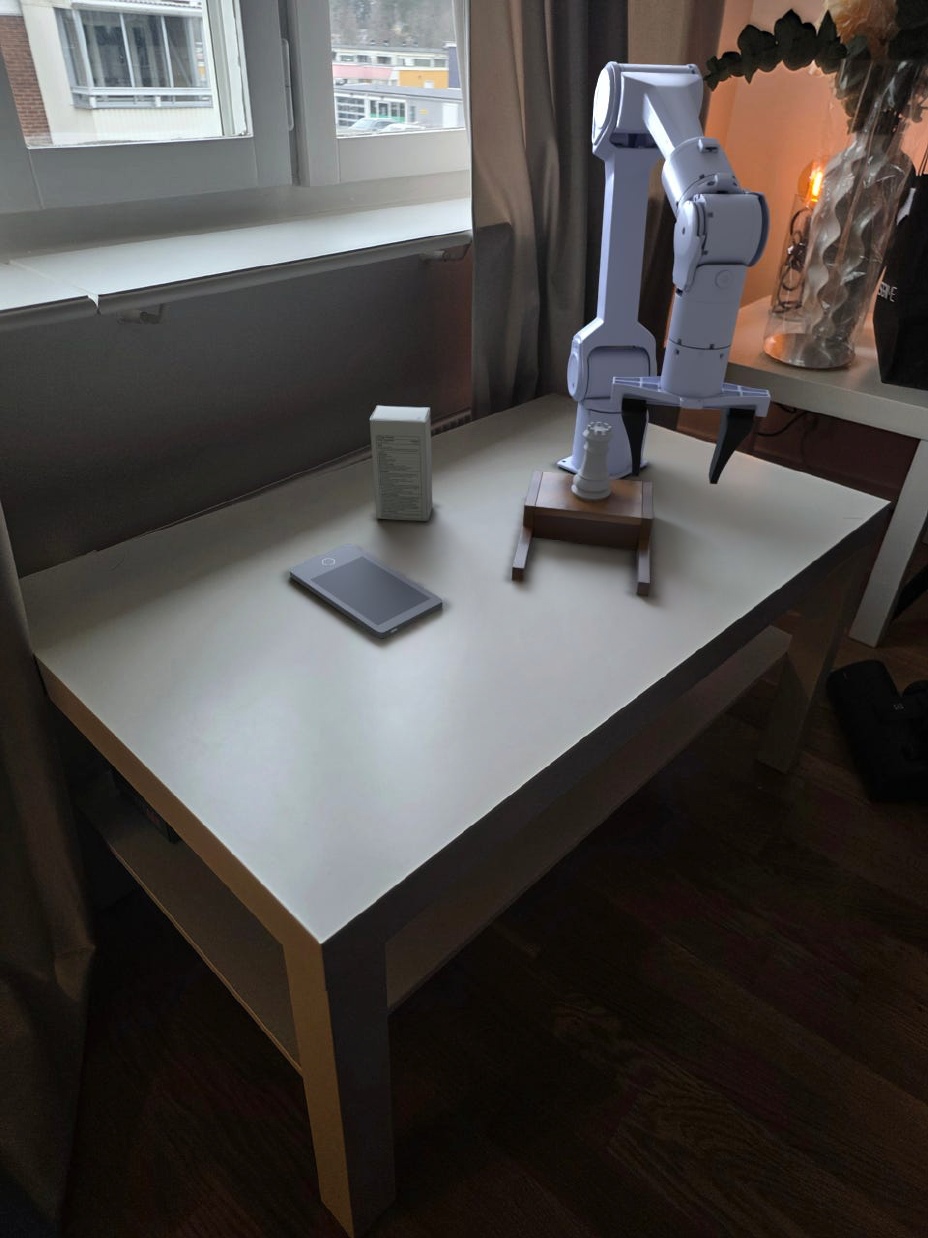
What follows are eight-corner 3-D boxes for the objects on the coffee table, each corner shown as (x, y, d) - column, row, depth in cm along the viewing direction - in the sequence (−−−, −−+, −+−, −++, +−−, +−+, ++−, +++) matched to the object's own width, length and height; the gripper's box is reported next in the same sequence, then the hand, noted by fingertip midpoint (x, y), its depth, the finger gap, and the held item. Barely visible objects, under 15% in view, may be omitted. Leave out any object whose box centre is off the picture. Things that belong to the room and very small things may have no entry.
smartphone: (446, 606, 82) (446, 600, 82) (381, 640, 78) (381, 634, 77) (351, 547, 91) (350, 542, 90) (287, 575, 86) (287, 569, 86)
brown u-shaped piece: (647, 595, 85) (654, 561, 83) (511, 579, 87) (513, 546, 85) (647, 512, 100) (652, 482, 97) (530, 500, 101) (533, 470, 99)
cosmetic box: (433, 505, 100) (433, 406, 93) (428, 523, 96) (428, 421, 89) (379, 501, 100) (376, 402, 93) (372, 518, 97) (368, 417, 89)
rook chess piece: (585, 505, 92) (594, 437, 87) (563, 488, 95) (570, 421, 91) (618, 497, 94) (628, 430, 89) (595, 481, 97) (604, 415, 92)
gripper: (618, 346, 74) (599, 485, 82) (787, 360, 72) (751, 501, 80) (620, 323, 80) (602, 456, 88) (777, 336, 78) (744, 470, 86)
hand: (673, 475), depth 84 cm, fingers open, 7 cm apart
